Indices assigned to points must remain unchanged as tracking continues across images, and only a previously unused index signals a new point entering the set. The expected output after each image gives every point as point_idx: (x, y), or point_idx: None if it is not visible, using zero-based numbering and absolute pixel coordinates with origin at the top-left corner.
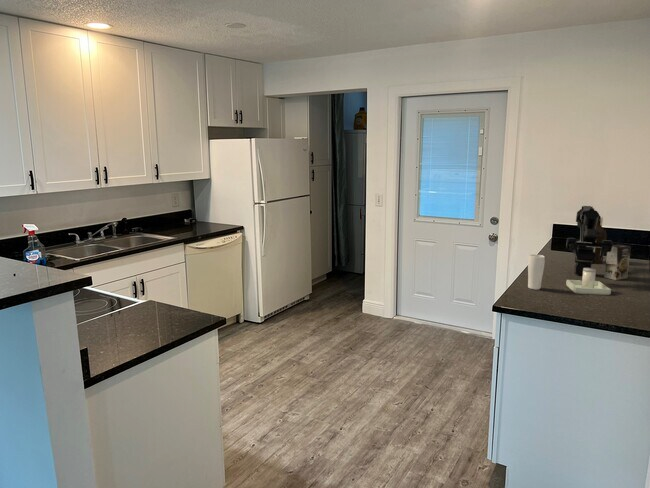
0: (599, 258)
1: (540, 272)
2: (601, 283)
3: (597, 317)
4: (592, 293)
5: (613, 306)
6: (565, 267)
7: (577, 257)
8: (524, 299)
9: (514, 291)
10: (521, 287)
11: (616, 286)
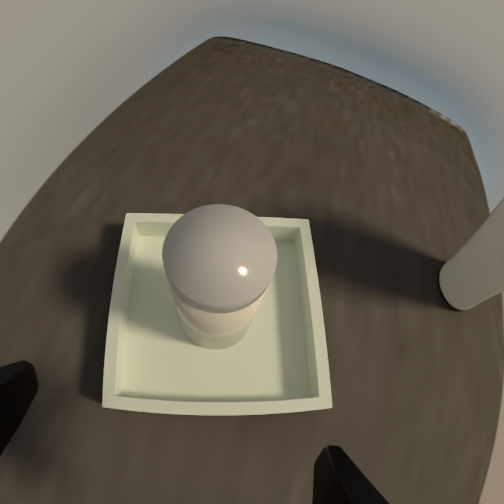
0: (15, 415)
1: (489, 215)
2: (111, 346)
3: (281, 64)
4: None
5: (202, 111)
6: None
7: (337, 449)
8: (445, 162)
9: None
10: None
11: None
